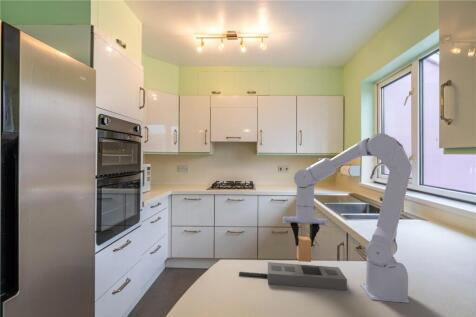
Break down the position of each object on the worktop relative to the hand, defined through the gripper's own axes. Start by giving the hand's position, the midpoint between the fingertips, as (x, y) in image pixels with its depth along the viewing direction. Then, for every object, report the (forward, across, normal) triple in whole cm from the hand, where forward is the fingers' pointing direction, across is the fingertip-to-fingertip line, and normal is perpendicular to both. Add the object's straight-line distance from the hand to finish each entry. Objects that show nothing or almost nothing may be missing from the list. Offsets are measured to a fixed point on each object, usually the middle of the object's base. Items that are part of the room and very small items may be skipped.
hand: (303, 245), depth 84 cm
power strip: (+7, +5, +9) cm, 13 cm away
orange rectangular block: (+4, 0, 0) cm, 5 cm away
